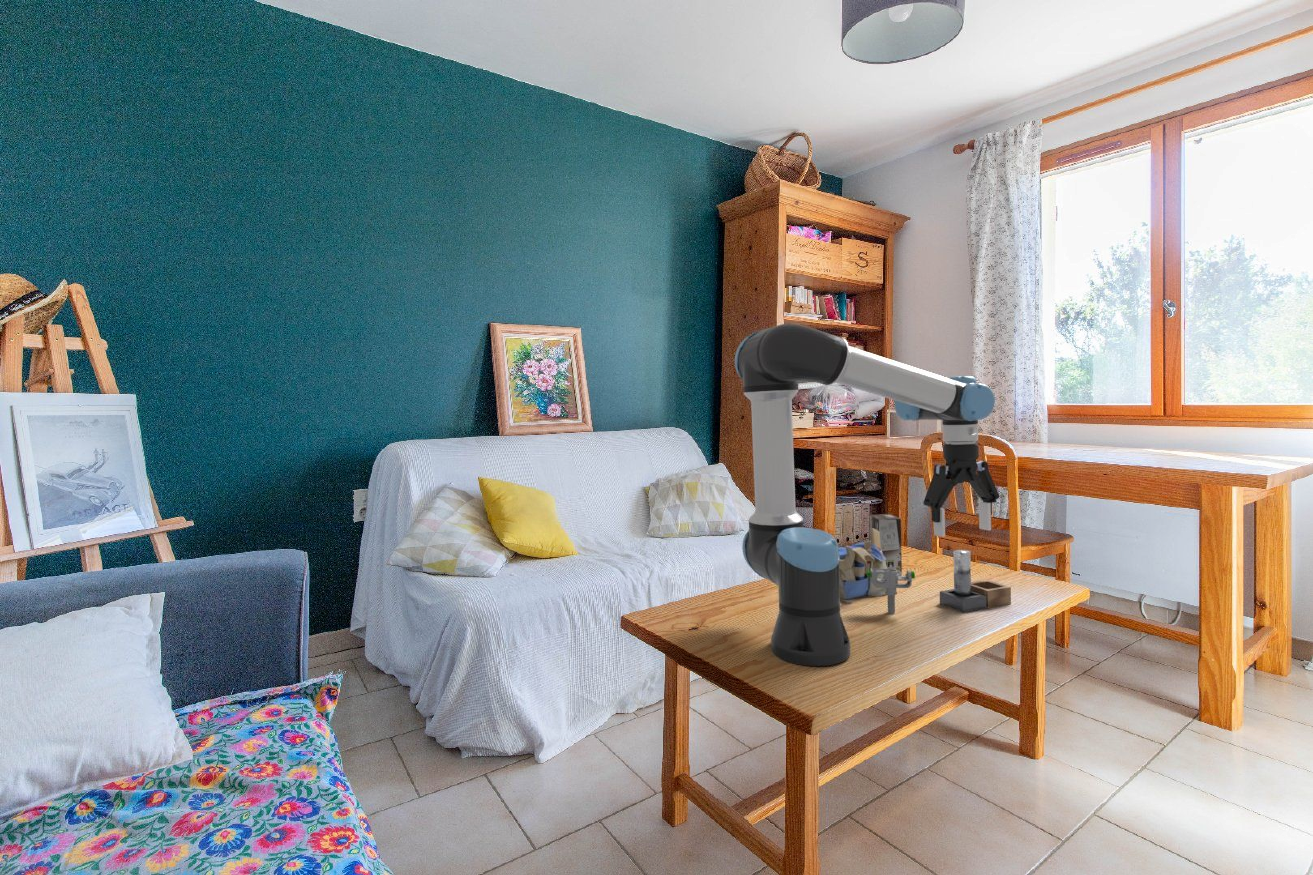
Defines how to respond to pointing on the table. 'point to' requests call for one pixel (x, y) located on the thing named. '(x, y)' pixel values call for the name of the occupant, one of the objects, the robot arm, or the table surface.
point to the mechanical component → (890, 583)
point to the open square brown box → (993, 592)
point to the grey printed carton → (889, 539)
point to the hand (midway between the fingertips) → (962, 532)
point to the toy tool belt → (860, 568)
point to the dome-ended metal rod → (962, 573)
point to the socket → (963, 601)
